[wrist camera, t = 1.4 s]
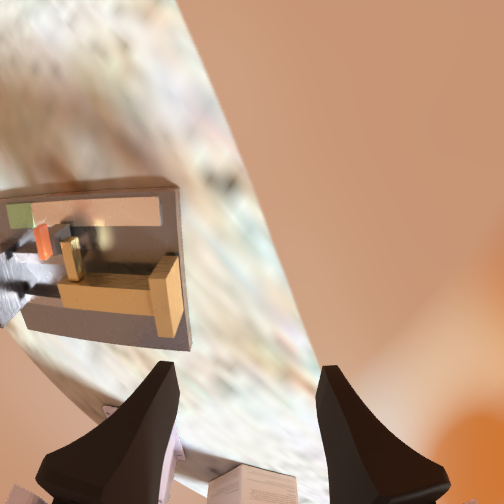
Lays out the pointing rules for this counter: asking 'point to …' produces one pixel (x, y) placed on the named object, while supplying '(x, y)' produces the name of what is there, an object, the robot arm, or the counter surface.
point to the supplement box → (252, 487)
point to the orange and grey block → (50, 239)
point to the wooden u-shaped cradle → (124, 290)
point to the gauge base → (90, 260)
